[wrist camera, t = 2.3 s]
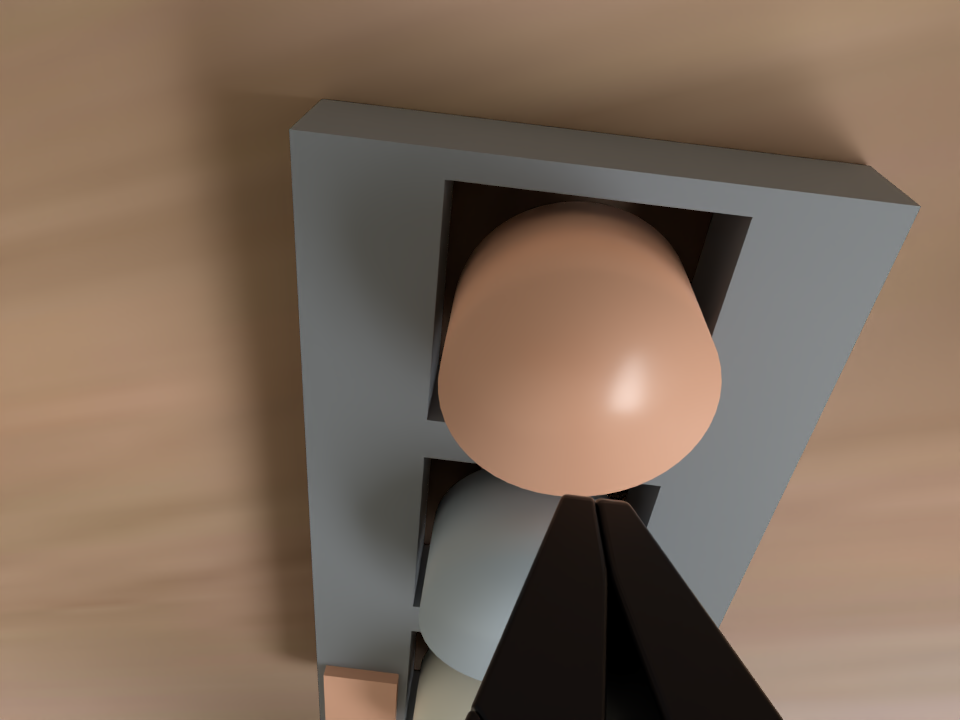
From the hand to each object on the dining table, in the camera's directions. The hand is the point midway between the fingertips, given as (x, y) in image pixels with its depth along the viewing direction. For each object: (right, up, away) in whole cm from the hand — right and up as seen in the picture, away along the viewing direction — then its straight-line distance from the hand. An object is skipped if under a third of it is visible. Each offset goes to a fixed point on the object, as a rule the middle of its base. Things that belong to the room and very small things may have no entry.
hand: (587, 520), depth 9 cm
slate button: (0, -2, +8) cm, 8 cm away
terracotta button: (0, +3, +4) cm, 5 cm away
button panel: (0, -1, +9) cm, 9 cm away
